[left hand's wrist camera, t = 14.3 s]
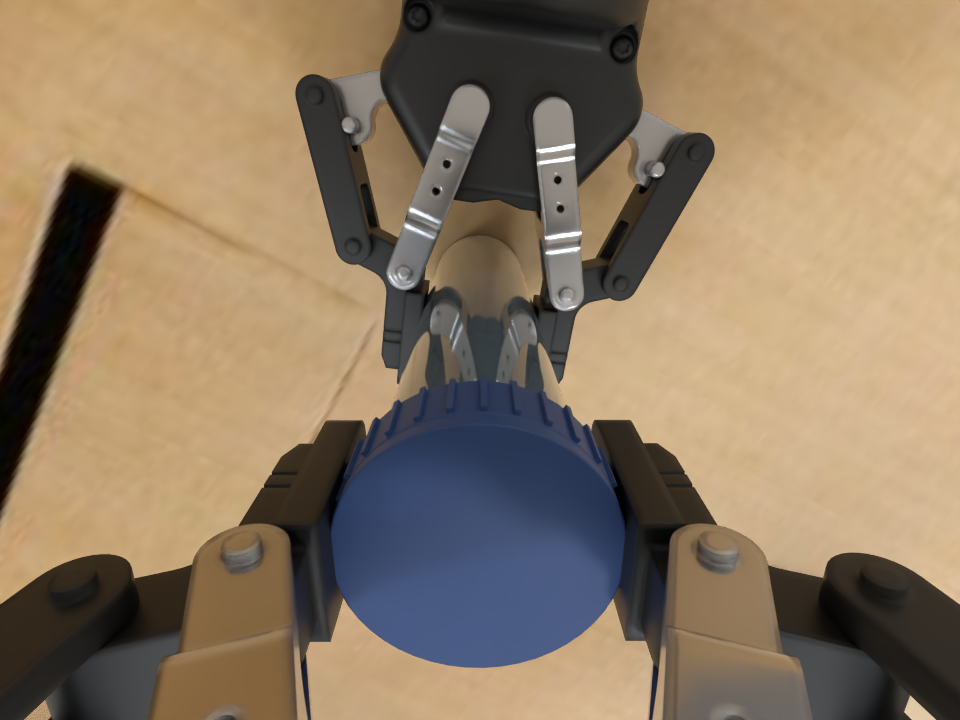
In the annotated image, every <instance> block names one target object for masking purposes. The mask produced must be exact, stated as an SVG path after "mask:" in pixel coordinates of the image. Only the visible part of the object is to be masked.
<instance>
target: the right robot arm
mask: <svg viewBox="0 0 960 720" xmlns="http://www.w3.org/2000/svg"><path fill="white" fill-rule="evenodd" d="M648 1H649V0H402V12H401V21H400V25H399V29H398V32H397V35H396V37H395V40H394V42H393V44H392V46H391V47H390V49H389V50H388V52H387V53H386V55H385V57H384V59H383V61H382V64H381V69H380V70H376V71H371V72H366V73H361V74H356V75H351V76H346V77H341V78H336V79H327V78H324V77H322V76H319V75H315V74H311V75H307V76H305V77H303V78H302V79H301V80H300V81H299V82H298V84H297V87H296V92H295V93H296V100H297V104H298V108H299V112H300V116H301V119H302V123H303V127H304V131H305V135H306V138H307V142H308V146H309V150H310V153H311V157H312V161H313V165H314V169H315V172H316V176H317V180H318V184H319V188H320V191H321V195H322V199H323V203H324V207H325V210H326V214H327V218H328V222H329V226H330V229H331V233H332V237H333V241H334V245H335V248H336V252H337V254H338V256H339V257H340V258H341V259H342V260H343V261H344V262H346V263H348V264H353V265H356V264H359V265H361V266H363V267H365V268H367V269H369V270H371V271H373V272H374V273H376V274H377V275H379V276H380V277H381V279H382V280H383V281H384V284H385V286H386V291H387V294H386V307H385V319H384V331H383V343H382V357H383V360H384V364H385V367H386V368H392V369H398V376H397V384H399V383H400V380H401V377H402V374H403V371H404V368H405V365H406V362H407V358H408V355H409V352H410V349H411V346H412V343H413V340H414V337H415V334H416V331H417V328H418V325H419V322H420V319H421V316H422V313H423V310H424V307H425V303H426V300H427V297H428V292H429V282H430V280H424V279H425V269H426V265H427V262H428V260H429V257H430V255H431V253H432V250H433V248H434V245H435V243H436V240H437V238H438V236H439V233H440V231H441V228H442V226H443V223H444V221H445V219H446V216H447V214H448V211H449V209H450V206H451V204H452V202H453V200H459V201H466V202H481V201H489V200H501V201H503V202H505V203H507V204H510V205H512V206H514V207H517V208H519V209H523V210H531V211H534V215H535V224H536V231H537V236H538V242H539V251H540V260H541V269H542V279H543V281H542V287H541V293H540V295H534V298H533V307H534V310H535V313H536V316H537V319H538V322H539V325H540V328H541V332H542V335H543V338H544V341H545V344H546V347H547V350H548V354H549V357H550V360H551V363H552V366H553V369H554V372H555V375H556V379H557V382H558V384H559V383H560V381H561V380H562V378H563V374H564V369H565V363H566V359H567V353H568V349H569V344H570V339H571V334H572V329H573V325H574V320H575V316H576V314H577V312H578V311H579V310H580V308H581V307H583V306H584V305H585V304H587V303H590V302H593V301H598V300H603V299H607V298H611V299H613V300H616V301H622V300H626V299H628V298H630V297H631V296H632V295H633V294H634V293H635V291H636V290H637V288H638V286H639V284H640V283H641V281H642V279H643V278H644V276H645V274H646V272H647V271H648V269H649V267H650V266H651V264H652V262H653V260H654V259H655V257H656V255H657V254H658V252H659V250H660V249H661V247H662V245H663V243H664V242H665V240H666V238H667V237H668V235H669V233H670V231H671V230H672V228H673V226H674V225H675V223H676V221H677V219H678V218H679V216H680V214H681V213H682V211H683V209H684V207H685V206H686V204H687V202H688V201H689V199H690V197H691V196H692V194H693V192H694V190H695V189H696V187H697V185H698V184H699V182H700V180H701V178H702V177H703V175H704V173H705V172H706V170H707V168H708V166H709V165H710V163H711V161H712V159H713V157H714V152H715V148H714V144H713V141H712V140H711V138H710V137H709V136H707V135H706V134H703V133H695V132H684V131H682V130H680V129H678V128H676V127H674V126H672V125H671V124H669V123H667V122H665V121H663V120H661V119H659V118H658V117H656V116H654V115H652V114H650V113H648V112H647V111H645V110H643V109H642V108H643V98H642V93H641V89H640V86H639V83H638V77H637V54H638V49H639V45H640V40H641V35H642V30H643V25H644V20H645V16H646V11H647V6H648ZM386 103H388V104H389V106H390V108H391V110H392V111H393V113H394V115H395V117H396V119H397V121H398V122H399V124H400V126H401V128H402V130H403V132H404V134H405V135H406V137H407V139H408V141H409V143H410V145H411V146H412V148H413V150H414V152H415V154H416V156H417V157H418V159H419V161H420V163H421V165H422V167H423V169H424V171H423V173H422V176H421V178H420V181H419V184H418V186H417V189H416V191H415V194H414V197H413V199H412V202H411V204H410V207H409V210H408V212H407V215H406V219H405V222H404V225H403V228H402V230H401V233H400V235H399V238H397V237H395V236H394V235H392V234H390V233H388V232H386V231H384V230H382V229H380V224H379V220H378V216H377V212H376V207H375V203H374V199H373V194H372V190H371V186H370V182H369V177H368V173H367V169H366V164H365V160H364V156H363V152H362V147H361V145H363V144H366V143H368V142H369V141H370V140H371V139H372V138H373V137H374V134H375V131H376V123H375V119H376V114H377V112H378V110H379V108H380V107H381V106H382V105H384V104H386ZM625 139H627V141H628V142H629V144H630V146H631V151H632V153H631V159H630V161H629V164H628V174H629V177H630V179H631V180H632V181H633V182H634V183H636V185H635V187H634V189H633V191H632V192H631V194H630V196H629V198H628V200H627V202H626V203H625V205H624V207H623V209H622V211H621V212H620V214H619V216H618V218H617V220H616V222H615V223H614V225H613V227H612V229H611V231H610V233H609V234H608V236H607V238H606V240H605V242H604V243H603V245H602V247H601V249H600V251H599V253H598V254H597V256H596V258H595V259H590V260H586V261H581V251H580V243H581V224H580V212H579V200H578V187H579V186H580V185H581V184H582V183H583V182H584V181H585V180H586V179H587V178H588V177H589V176H590V175H591V174H592V173H593V172H594V171H595V170H596V169H597V168H598V167H599V166H600V165H601V164H602V163H603V162H604V161H605V160H606V159H607V157H608V156H609V155H610V154H611V153H612V152H613V151H614V150H615V149H616V148H617V147H618V146H619V145H620V144H621V143H622V142H623V141H624V140H625Z"/></svg>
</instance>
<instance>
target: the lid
mask: <svg viewBox="0 0 960 720" xmlns="http://www.w3.org/2000/svg"><path fill="white" fill-rule="evenodd" d="M343 478H344V480H343V482H342V485H341V487H340V490H339V492H338V495H337V497H336V505H337V506H336V508H335V511H334V514H333V518H332V522H331V539H332V548H333V557H334V566H335V575H336V582H337V586H338V588H339V590H340V593H341V594H342V596H343V598H344V599H345V601H346V603H347V604H348V606H349V607H350V609H351V610H352V611H353V612H354V614H355V615H356V616H357V617H358V619H359V620H360V621H361V622H363V623H364V624H365V625H366V626H367V627H368V628H369V629H370V630H371V631H372V632H374V633H375V634H376V635H378V636H379V637H380V638H381V639H383V640H384V641H386V642H388V643H389V644H391V645H393V646H394V647H396V648H398V649H400V650H402V651H404V652H406V653H409V654H411V655H413V656H416V657H419V658H422V659H425V660H428V661H431V662H435V663H440V664H444V665H450V666H458V667H471V668H487V667H499V666H506V665H512V664H517V663H521V662H525V661H528V660H532V659H535V658H538V657H541V656H543V655H546V654H548V653H551V652H553V651H555V650H557V649H558V648H560V647H562V646H564V645H566V644H568V643H569V642H571V641H572V640H573V639H575V638H576V637H578V636H579V635H581V634H582V633H583V632H584V631H585V630H586V629H588V628H589V627H590V626H591V625H592V624H593V623H594V622H595V621H596V620H597V619H598V618H599V617H600V615H601V614H602V613H603V612H604V611H605V609H606V608H607V606H608V605H609V603H610V602H611V600H612V599H613V597H614V595H615V593H616V591H617V589H618V587H619V585H620V579H621V570H622V561H623V551H624V542H625V531H626V526H625V520H624V516H623V514H622V511H621V508H620V505H619V502H618V500H617V497H616V494H615V492H614V489H613V488H615V487H617V483H616V481H615V478H614V476H613V473H612V471H611V468H610V465H609V463H608V460H607V458H606V455H605V453H604V450H603V448H602V447H599V448H597V445H596V442H595V440H594V437H593V435H592V432H591V429H590V427H589V426H588V425H587V424H586V425H584V426H582V425H581V424H580V423H579V422H578V421H577V419H576V418H575V417H574V416H573V414H572V411H571V408H570V407H569V406H567V405H565V406H564V407H561V406H560V405H559V404H557V403H555V402H554V401H552V400H550V399H548V398H547V395H546V392H544V391H542V390H540V392H539V393H536V392H534V391H531V390H529V389H526V388H523V387H519V386H518V383H517V381H513V380H512V381H511V384H507V383H500V382H493V381H487V377H480V381H465V382H456V379H455V378H454V379H449V384H446V385H441V386H437V387H434V388H431V389H428V390H427V388H426V386H424V387H421V388H420V390H419V393H418V394H416V395H414V396H412V397H410V398H408V399H406V400H404V401H403V402H401V401H400V400H399V399H398V400H396V401H395V402H394V404H393V407H392V409H391V410H390V411H389V412H388V413H387V414H386V415H384V416H383V417H382V418H381V419H380V420H379V419H378V418H377V417H376V418H375V419H374V420H373V421H372V424H371V427H370V429H369V432H368V434H367V436H366V438H365V439H364V441H363V440H361V439H359V440H358V442H357V444H356V446H355V449H354V451H353V454H352V456H351V459H350V461H349V464H348V466H347V469H346V471H345V474H344V476H343Z"/></svg>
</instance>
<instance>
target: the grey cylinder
mask: <svg viewBox="0 0 960 720" xmlns="http://www.w3.org/2000/svg"><path fill="white" fill-rule="evenodd" d="M480 377H487V381H493V382H500V383H507V384H511V381H512V380H513V381H517V383H518V386H519V387H523V388H526V389H529V390H531V391H534V392H536V393H539V392H540V390H542V391H544V392H546V395H547V398H548V399H550V400H552V401H554V402H555V403H557V404H559V405H560V406H561V407H564V406H565V404H564V400H563V397H562V394H561V391H560V388H559V385H558V382H557V379H556V375H555V372H554V369H553V366H552V363H551V360H550V357H549V354H548V350H547V347H546V344H545V341H544V338H543V335H542V332H541V328H540V325H539V322H538V319H537V316H536V313H535V310H534V307H533V303H532V300H531V297H530V294H529V291H528V288H527V285H526V282H525V278H524V275H523V272H522V269H521V266H520V263H519V261H518V259H517V257H516V255H515V254H514V252H513V251H512V250H511V249H510V248H509V247H508V246H507V245H506V244H505V243H503V242H501V241H500V240H498V239H495V238H493V237H489V236H483V235H476V236H469V237H466V238H463V239H461V240H459V241H457V242H455V243H454V244H453V245H451V246H450V247H449V248H448V249H447V250H446V251H445V253H444V254H443V256H442V257H441V259H440V261H439V264H438V267H437V270H436V273H435V276H434V279H433V282H432V285H431V288H430V291H429V294H428V297H427V300H426V303H425V307H424V310H423V313H422V316H421V319H420V322H419V325H418V328H417V331H416V334H415V337H414V340H413V343H412V346H411V349H410V352H409V355H408V358H407V362H406V365H405V368H404V371H403V374H402V377H401V380H400V383H399V386H398V389H397V392H396V395H395V398H394V401H393V404H394V402H395V401H396V400H398V399H399V400H400V401H401V402H403V401H404V400H406V399H408V398H410V397H412V396H414V395H416V394H418V393H419V390H420V388H421V387H424V386H426V388H427V390H428V389H431V388H434V387H437V386H441V385H446V384H449V379H454V378H455V379H456V382H465V381H480ZM393 404H392V407H393ZM392 407H391V409H392Z"/></svg>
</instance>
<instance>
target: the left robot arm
mask: <svg viewBox="0 0 960 720" xmlns="http://www.w3.org/2000/svg"><path fill="white" fill-rule="evenodd" d="M591 432H592V435H593V437H594V440H595V442H596V445H597V448H599V447H602V448H603V450H604V453H605V455H606V458H607V460H608V463H609V465H610V468H611V471H612V473H613V476H614V478H615V481H616V483H617V487H615V488H613V489H614V492H615V494H616V497H617V500H618V502H619V505H620V508H621V511H622V514H623V516H624V520H625V526H626V531H625V542H624V551H623V561H622V570H621V579H620V585H619V587H618V589H617V591H616V593H615V595H614V597H613V599H614V602H615V606H616V609H617V613H618V616H619V620H620V623H621V626H622V630H623V633H624V637H625V640H626V641H646V642H647V645H648V648H649V651H650V654H651V657H652V660H653V664H652V672H651V682H650V694H649V707H648V719H647V720H911V719H910V718H909V717H908V716H907V715H906V714H905V713H904V711H905V708H906V705H907V702H908V700H909V697H910V695H911V696H912V697H913V698H914V699H915V700H916V701H917V702H918V703H919V704H920V705H921V706H922V707H923V708H924V709H925V710H927V711H928V712H929V713H930V714H931V715H932V716H933V717H934V718H935V719H936V720H960V604H958V603H957V602H955V601H954V600H953V599H951V598H950V597H948V596H947V595H946V594H944V593H943V592H942V591H940V590H939V589H937V588H936V587H935V586H933V585H932V584H931V583H929V582H928V581H926V580H925V579H924V578H922V577H921V576H919V575H918V574H916V573H915V572H913V571H912V570H910V569H908V568H906V567H904V566H902V565H900V564H898V563H896V562H893V561H891V560H888V559H885V558H882V557H878V556H875V555H870V554H864V553H843V554H839V555H836V556H834V557H833V558H831V559H830V560H829V561H828V563H827V566H826V569H825V573H824V577H823V578H820V577H816V576H811V575H806V574H802V573H797V572H792V571H788V570H783V569H779V568H775V567H772V566H769V565H768V564H767V560H766V557H765V555H764V553H763V551H762V550H761V549H760V548H759V547H758V546H757V545H756V544H755V543H754V542H753V541H752V540H750V539H749V538H747V537H746V536H744V535H742V534H740V533H738V532H736V531H734V530H732V529H729V528H726V527H722V526H718V525H717V524H716V522H715V520H714V519H713V517H712V516H711V514H710V512H709V511H708V509H707V507H706V506H705V504H704V502H703V501H702V499H701V498H700V496H699V494H698V493H697V491H696V489H695V488H694V487H692V483H691V481H690V480H689V478H688V476H687V475H685V471H684V470H683V468H682V467H681V465H680V463H679V462H678V460H677V458H676V457H675V456H674V455H673V454H671V453H670V452H669V451H667V450H666V449H664V448H663V447H662V446H660V445H659V444H657V443H643V442H642V440H641V438H640V436H639V434H638V432H637V431H636V429H635V427H634V425H633V423H632V422H631V421H630V420H594V422H593V425H592V431H591ZM365 438H366V430H365V425H364V422H363V421H362V420H328V421H326V422H325V423H324V425H323V427H322V429H321V431H320V432H319V434H318V436H317V438H316V440H315V442H314V443H313V444H299V445H297V446H296V447H295V448H293V449H292V450H290V451H289V452H288V453H286V454H285V455H283V456H282V457H281V458H280V460H279V461H278V463H277V465H276V466H275V468H274V470H273V471H272V475H270V476H269V478H268V479H267V481H266V482H265V484H264V488H262V489H261V490H260V492H259V494H258V495H257V497H256V499H255V500H254V502H253V503H252V505H251V507H250V508H249V510H248V511H247V513H246V515H245V516H244V518H243V519H242V521H241V523H240V524H239V526H238V527H234V528H231V529H228V530H226V531H224V532H222V533H220V534H218V535H216V536H214V537H213V538H211V539H210V540H208V541H207V542H206V543H205V544H204V545H203V546H202V547H201V548H200V549H199V550H198V551H197V553H196V555H195V557H194V560H193V564H192V565H189V566H186V567H184V568H180V569H176V570H172V571H167V572H163V573H158V574H153V575H149V576H144V577H139V578H135V579H134V575H133V571H132V567H131V565H130V563H129V562H128V561H127V560H126V559H124V558H122V557H120V556H116V555H110V554H100V555H91V556H86V557H82V558H78V559H75V560H72V561H69V562H66V563H64V564H61V565H59V566H57V567H55V568H53V569H51V570H49V571H47V572H46V573H44V574H42V575H41V576H39V577H38V578H36V579H35V580H34V581H32V582H31V583H29V584H28V585H27V586H25V587H24V588H23V589H21V590H20V591H18V592H17V593H16V594H14V595H13V596H11V597H10V598H9V599H7V600H6V601H5V602H3V603H2V604H0V720H24V719H25V718H26V717H27V716H28V715H29V714H30V713H31V712H32V711H33V710H35V709H36V708H37V707H38V706H39V705H40V704H41V703H42V702H43V701H44V700H46V703H47V706H48V708H49V711H50V714H51V718H50V719H49V720H313V719H312V707H311V694H310V682H309V672H308V664H307V657H306V652H307V649H308V646H309V643H310V642H331V638H332V635H333V631H334V628H335V625H336V621H337V618H338V615H339V611H340V608H341V604H342V601H343V596H342V594H341V593H340V590H339V588H338V586H337V582H336V575H335V566H334V557H333V548H332V539H331V522H332V518H333V514H334V511H335V508H336V506H337V505H336V497H337V495H338V492H339V490H340V487H341V485H342V482H343V480H344V478H343V476H344V474H345V471H346V469H347V466H348V464H349V461H350V459H351V456H352V454H353V451H354V449H355V446H356V444H357V442H358V440H359V439H361V440H363V441H364V439H365Z"/></svg>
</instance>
